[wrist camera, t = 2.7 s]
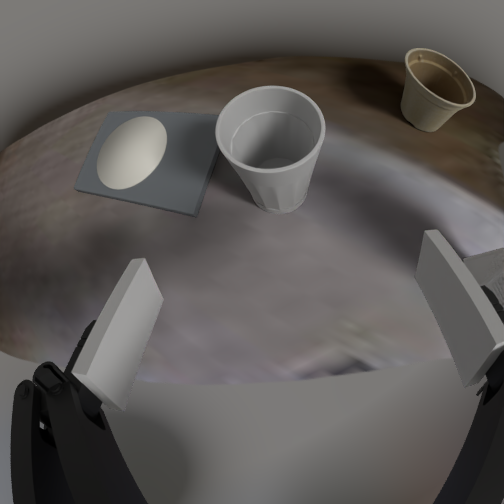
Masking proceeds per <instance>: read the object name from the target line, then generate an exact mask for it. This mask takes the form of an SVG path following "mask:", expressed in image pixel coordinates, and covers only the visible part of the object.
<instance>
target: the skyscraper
mask: <svg viewBox="0 0 504 504" xmlns="http://www.w3.org/2000/svg"><path fill="white" fill-rule="evenodd" d="M463 261H464V264H465V265H466V267H467V268H468V270H469V271H470V272H471V274H472V275H473V277H474V278H475V280H476V281H477V283H478V284H479V286H483V285H485V286H486V287H487V288H489V289H490V290H491V291H492V292H493V293H494V294H495V296H496V297H497V299H498V300H499V304H501V305H502V307H503V308H504V248H500V249H496V250H493V251H489V252H485V253H482V254H478V255H474V256H470V257H467V258H463Z"/></svg>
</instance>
